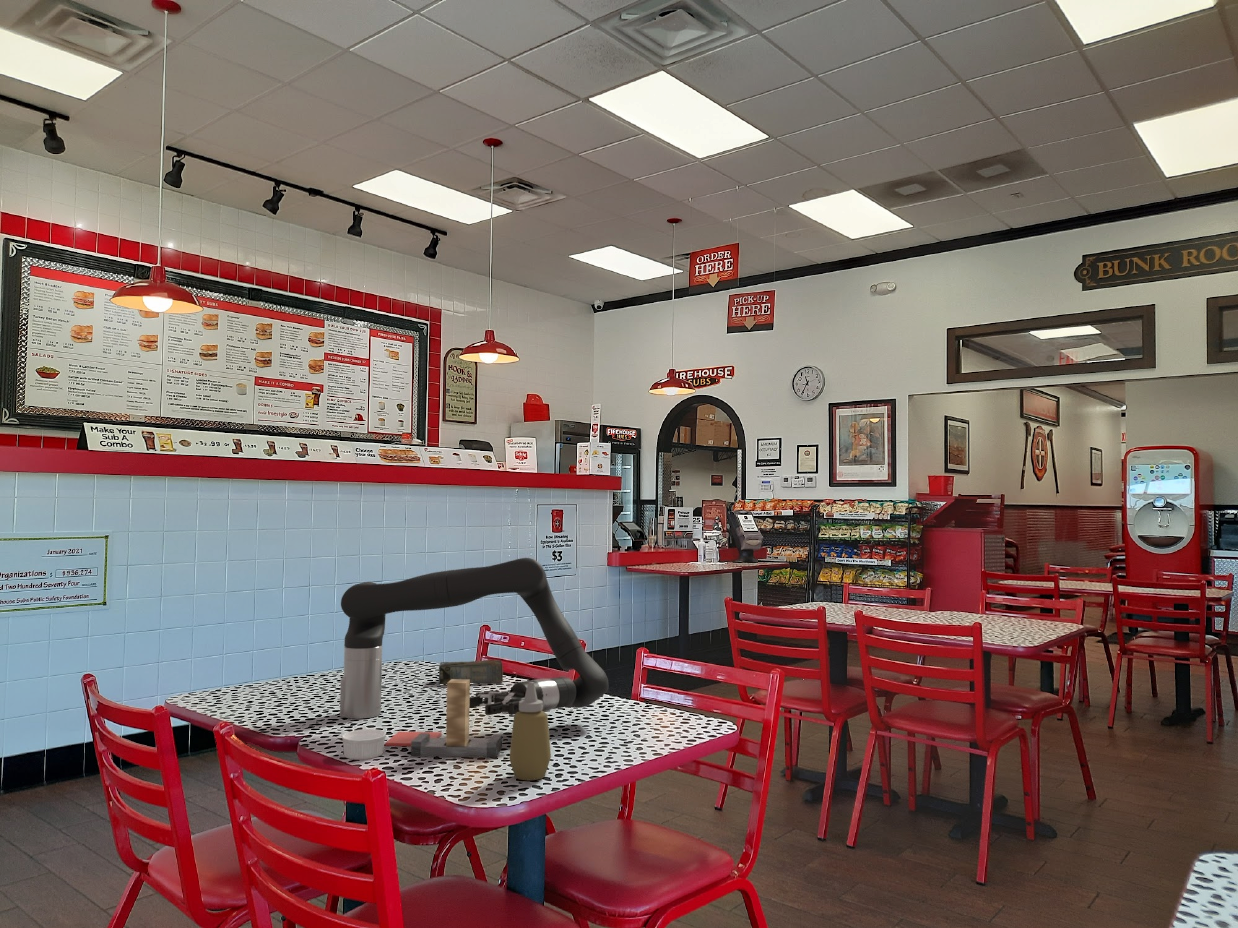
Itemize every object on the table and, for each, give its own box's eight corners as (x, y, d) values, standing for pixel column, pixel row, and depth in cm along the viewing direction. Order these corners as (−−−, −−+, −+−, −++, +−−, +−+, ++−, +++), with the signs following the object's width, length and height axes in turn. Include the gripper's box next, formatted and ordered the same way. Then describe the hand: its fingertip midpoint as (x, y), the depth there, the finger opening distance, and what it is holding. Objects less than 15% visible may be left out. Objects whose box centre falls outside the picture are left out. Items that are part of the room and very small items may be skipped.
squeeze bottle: (544, 784, 160) (545, 687, 161) (503, 781, 161) (504, 685, 162) (555, 771, 167) (556, 679, 169) (516, 769, 169) (517, 677, 170)
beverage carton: (439, 681, 260) (439, 659, 260) (502, 679, 263) (502, 658, 264) (438, 686, 252) (438, 663, 252) (503, 684, 255) (503, 662, 256)
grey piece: (411, 755, 178) (411, 741, 178) (420, 746, 185) (420, 732, 185) (496, 757, 177) (496, 742, 177) (502, 748, 184) (502, 734, 184)
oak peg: (445, 754, 179) (447, 682, 180) (450, 749, 183) (451, 679, 184) (464, 754, 179) (465, 682, 180) (468, 749, 183) (469, 679, 184)
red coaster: (384, 745, 186) (385, 742, 186) (398, 733, 196) (398, 731, 196) (430, 746, 185) (430, 743, 185) (441, 734, 195) (441, 732, 195)
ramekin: (391, 756, 178) (391, 735, 178) (348, 763, 173) (348, 741, 173) (378, 747, 185) (378, 726, 185) (336, 753, 180) (337, 732, 181)
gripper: (516, 675, 201) (457, 684, 190) (554, 684, 191) (493, 694, 180) (516, 707, 201) (457, 718, 190) (553, 718, 190) (493, 730, 179)
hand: (475, 706), depth 185 cm, fingers open, 8 cm apart
